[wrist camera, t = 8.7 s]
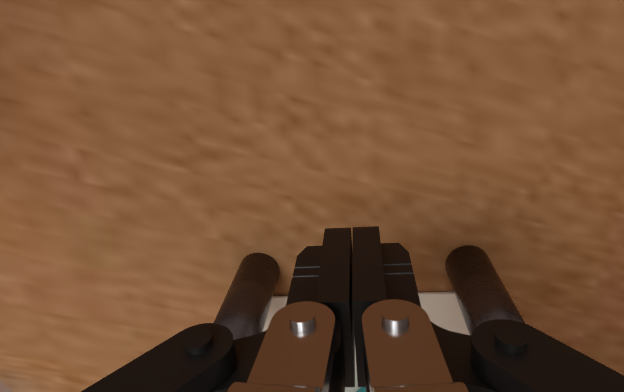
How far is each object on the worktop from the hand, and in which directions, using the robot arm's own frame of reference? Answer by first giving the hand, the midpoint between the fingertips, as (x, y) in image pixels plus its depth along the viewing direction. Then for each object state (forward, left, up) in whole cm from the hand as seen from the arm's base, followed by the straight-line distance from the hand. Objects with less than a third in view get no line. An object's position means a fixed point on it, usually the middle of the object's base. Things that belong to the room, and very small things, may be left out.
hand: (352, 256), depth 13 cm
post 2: (-6, +9, -14) cm, 17 cm away
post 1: (+7, +9, -14) cm, 17 cm away
